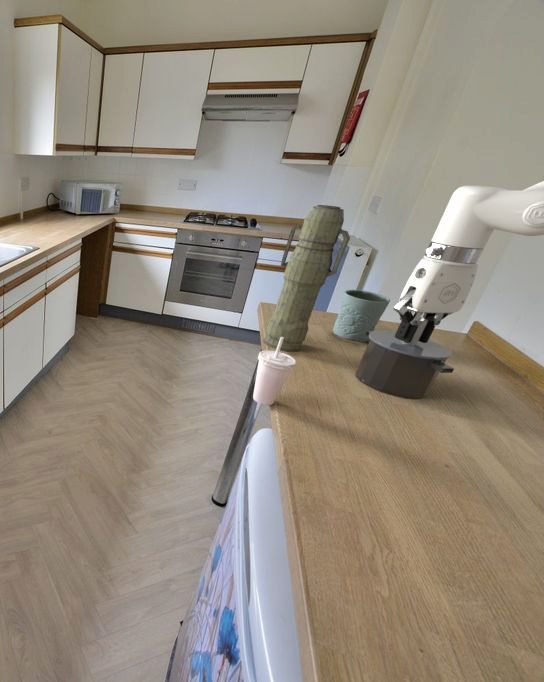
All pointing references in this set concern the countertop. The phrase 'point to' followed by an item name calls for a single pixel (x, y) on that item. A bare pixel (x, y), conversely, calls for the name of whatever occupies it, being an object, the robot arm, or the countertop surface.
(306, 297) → the thermos
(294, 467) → the countertop surface
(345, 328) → the green embossed cup
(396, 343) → the lid
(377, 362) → the pot
